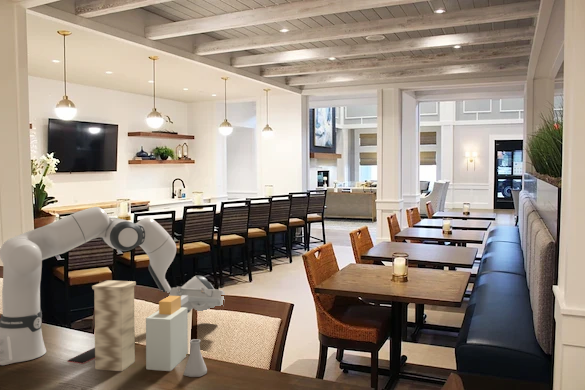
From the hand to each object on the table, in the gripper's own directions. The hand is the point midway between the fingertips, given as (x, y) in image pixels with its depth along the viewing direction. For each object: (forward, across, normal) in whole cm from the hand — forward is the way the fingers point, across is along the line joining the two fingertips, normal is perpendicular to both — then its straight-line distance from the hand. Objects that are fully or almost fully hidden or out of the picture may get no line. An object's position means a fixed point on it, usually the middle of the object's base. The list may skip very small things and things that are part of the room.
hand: (190, 289), depth 181 cm
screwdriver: (+10, 0, +9) cm, 14 cm away
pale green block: (+8, 0, +26) cm, 28 cm away
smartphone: (+7, -28, +26) cm, 39 cm away
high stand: (+13, -15, +29) cm, 35 cm away
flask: (+14, +12, +30) cm, 35 cm away
